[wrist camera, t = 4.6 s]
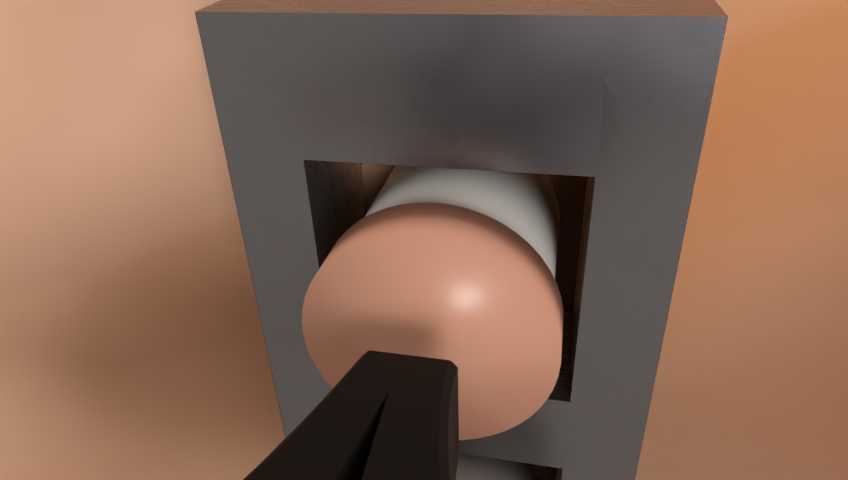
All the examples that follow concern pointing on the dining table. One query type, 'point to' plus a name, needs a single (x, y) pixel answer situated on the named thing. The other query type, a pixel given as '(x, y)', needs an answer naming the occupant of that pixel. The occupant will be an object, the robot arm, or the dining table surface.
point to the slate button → (493, 469)
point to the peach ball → (449, 288)
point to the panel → (476, 168)
